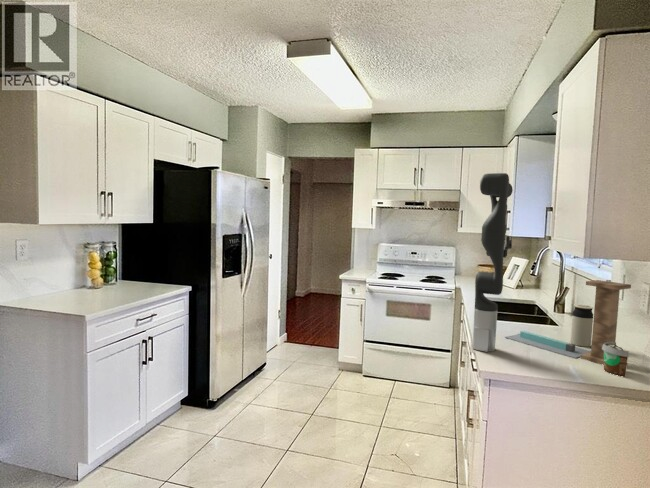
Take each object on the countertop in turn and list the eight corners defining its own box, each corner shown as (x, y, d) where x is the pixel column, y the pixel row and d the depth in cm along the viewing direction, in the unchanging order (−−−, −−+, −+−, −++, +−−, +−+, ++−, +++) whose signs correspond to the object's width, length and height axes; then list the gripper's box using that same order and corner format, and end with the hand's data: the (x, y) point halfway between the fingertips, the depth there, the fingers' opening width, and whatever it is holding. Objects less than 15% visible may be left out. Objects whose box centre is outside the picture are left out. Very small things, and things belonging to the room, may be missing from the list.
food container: (595, 364, 160) (597, 340, 159) (613, 367, 158) (615, 341, 158) (607, 376, 148) (609, 349, 148) (626, 378, 146) (629, 351, 146)
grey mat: (594, 352, 175) (594, 352, 175) (575, 358, 167) (575, 357, 167) (524, 333, 202) (524, 332, 202) (504, 337, 194) (504, 336, 194)
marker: (574, 351, 175) (575, 344, 175) (571, 352, 174) (571, 345, 173) (523, 336, 196) (523, 330, 196) (519, 337, 194) (520, 331, 194)
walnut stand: (625, 363, 163) (631, 284, 161) (612, 367, 157) (618, 286, 155) (592, 354, 173) (598, 280, 171) (579, 358, 167) (585, 281, 165)
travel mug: (595, 347, 184) (598, 308, 182) (579, 347, 182) (582, 308, 181) (581, 341, 191) (584, 304, 190) (566, 342, 190) (569, 304, 189)
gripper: (516, 224, 195) (514, 257, 196) (490, 223, 207) (488, 255, 208) (506, 224, 191) (504, 258, 192) (481, 223, 203) (479, 255, 204)
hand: (496, 256), depth 200 cm, fingers open, 8 cm apart
